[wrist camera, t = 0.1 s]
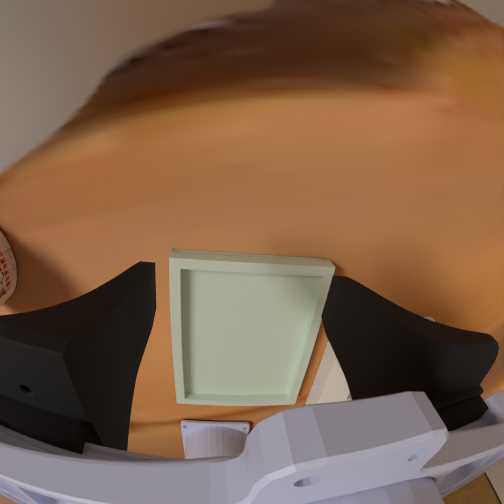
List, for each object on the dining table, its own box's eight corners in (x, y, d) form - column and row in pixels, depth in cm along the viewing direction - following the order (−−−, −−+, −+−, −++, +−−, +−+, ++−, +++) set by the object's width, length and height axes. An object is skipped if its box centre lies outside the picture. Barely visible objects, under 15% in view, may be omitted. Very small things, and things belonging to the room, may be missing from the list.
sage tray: (292, 393, 29) (294, 404, 28) (178, 392, 28) (177, 403, 26) (329, 258, 23) (335, 267, 22) (172, 249, 21) (169, 257, 20)
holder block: (392, 391, 32) (399, 405, 30) (305, 403, 30) (310, 420, 28) (431, 316, 27) (443, 329, 25) (334, 320, 26) (343, 338, 23)
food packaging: (353, 447, 37) (397, 573, 15) (372, 415, 34) (434, 563, 11) (419, 427, 39) (471, 533, 16) (442, 394, 35) (510, 510, 12)
